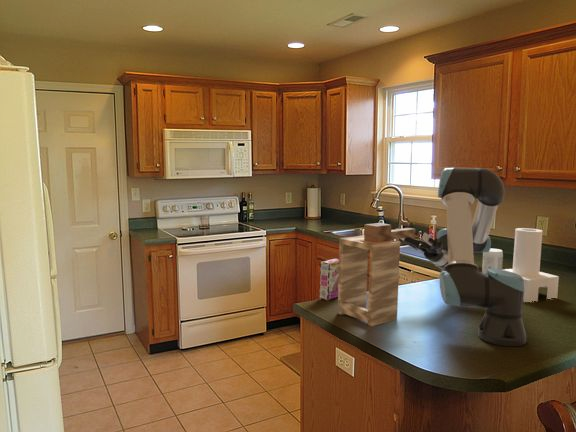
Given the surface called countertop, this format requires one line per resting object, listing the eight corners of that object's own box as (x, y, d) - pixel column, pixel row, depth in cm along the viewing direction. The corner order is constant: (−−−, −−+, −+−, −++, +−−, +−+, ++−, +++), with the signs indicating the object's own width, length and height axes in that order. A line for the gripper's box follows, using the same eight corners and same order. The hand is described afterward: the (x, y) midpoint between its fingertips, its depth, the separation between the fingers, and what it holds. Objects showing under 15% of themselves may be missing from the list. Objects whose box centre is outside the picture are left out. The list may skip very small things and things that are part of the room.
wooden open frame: (396, 319, 183) (400, 241, 179) (371, 326, 174) (374, 245, 171) (362, 307, 197) (364, 235, 193) (337, 313, 188) (339, 238, 185)
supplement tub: (496, 275, 254) (498, 248, 252) (505, 280, 245) (507, 251, 243) (478, 275, 254) (480, 248, 252) (486, 279, 244) (488, 251, 243)
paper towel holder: (492, 291, 223) (496, 228, 219) (521, 287, 230) (526, 226, 227) (526, 302, 206) (531, 234, 202) (557, 298, 213) (562, 231, 210)
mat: (394, 241, 179) (394, 240, 179) (376, 244, 173) (376, 243, 173) (378, 238, 185) (378, 237, 185) (360, 241, 179) (360, 240, 179)
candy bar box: (328, 301, 205) (329, 263, 203) (319, 299, 208) (319, 261, 206) (342, 295, 213) (343, 259, 211) (333, 293, 216) (334, 257, 214)
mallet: (405, 234, 193) (406, 220, 192) (417, 236, 188) (418, 221, 188) (364, 240, 179) (364, 224, 178) (376, 242, 174) (376, 226, 173)
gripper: (459, 267, 192) (432, 246, 180) (408, 257, 212) (382, 237, 199) (465, 251, 194) (439, 228, 181) (414, 241, 213) (388, 221, 201)
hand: (409, 233), depth 190 cm, fingers open, 13 cm apart
